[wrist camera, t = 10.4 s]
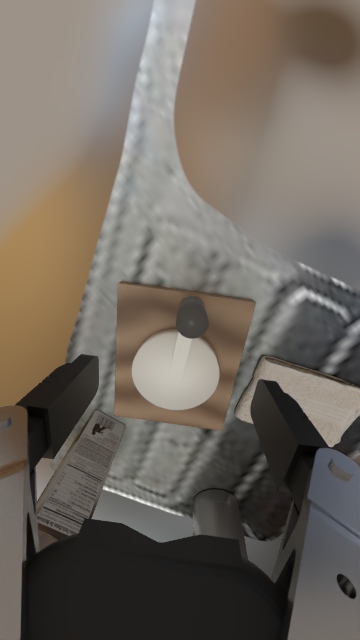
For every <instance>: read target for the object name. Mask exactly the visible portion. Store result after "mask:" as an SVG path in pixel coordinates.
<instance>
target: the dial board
mask: <svg viewBox="0 0 360 640" xmlns="http://www.w3.org/2000/svg"><path fill="white" fill-rule="evenodd" d="M186 296H187V297H188V296H196V297H198V298H200V299H201V300H202V301H203V303H204V305H205V309H206V313H207V317H208V321H209V326H208V329H207V331H206V332H205V333H204V334H203V335H202V336H201V337H202V338H204V339H205V340H206V341H207V342H208V343H209V344H210V346H211V347H212V348H213V350H214V352H215V355H216V357H217V362H218V366H219V373H220V375H219V382H218V385H217V388H216V389H215V391H214V393H213V394H212V395H211V397H209V398H208V399H207V400H206V401H205V402H203V403H202V404H200V405H198V406H196V407H193V408H190V409H185V410H170V409H165V408H161V407H159V406H156V405H154V404H152V403H151V402H149V401H148V400H146V399H145V398H144V397H143V396H142V395H141V394H140V392H139V391H138V390H137V388H136V386H135V384H134V381H133V378H132V364H133V360H134V358H135V356H136V354H137V352H138V350H139V348H140V346H141V345H142V344H143V342H144V341H145V340H146V339H147V338H149V337H150V336H151V335H153V334H155V333H157V332H160V331H163V330H167V329H177V328H176V318H177V313H178V308H179V304H180V302H181V301H182V300H183V299H184V298H185V297H186ZM255 304H256V302H255V301H253V300H251V299H244V298H237V297H229V296H222V295H215V294H208V293H201V292H194V291H186V290H179V289H172V288H165V287H158V286H151V285H143V284H136V283H129V282H120V283H118V301H117V336H116V371H115V405H114V416H121V417H128V418H135V419H143V420H150V421H157V422H164V423H171V424H178V425H185V426H192V427H199V428H207V429H214V430H221V431H222V429H223V425H224V421H225V417H226V414H227V410H228V406H229V402H230V399H231V395H232V391H233V387H234V383H235V380H236V376H237V372H238V368H239V364H240V361H241V357H242V353H243V349H244V345H245V342H246V338H247V334H248V330H249V327H250V323H251V319H252V315H253V311H254V308H255Z"/></svg>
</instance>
